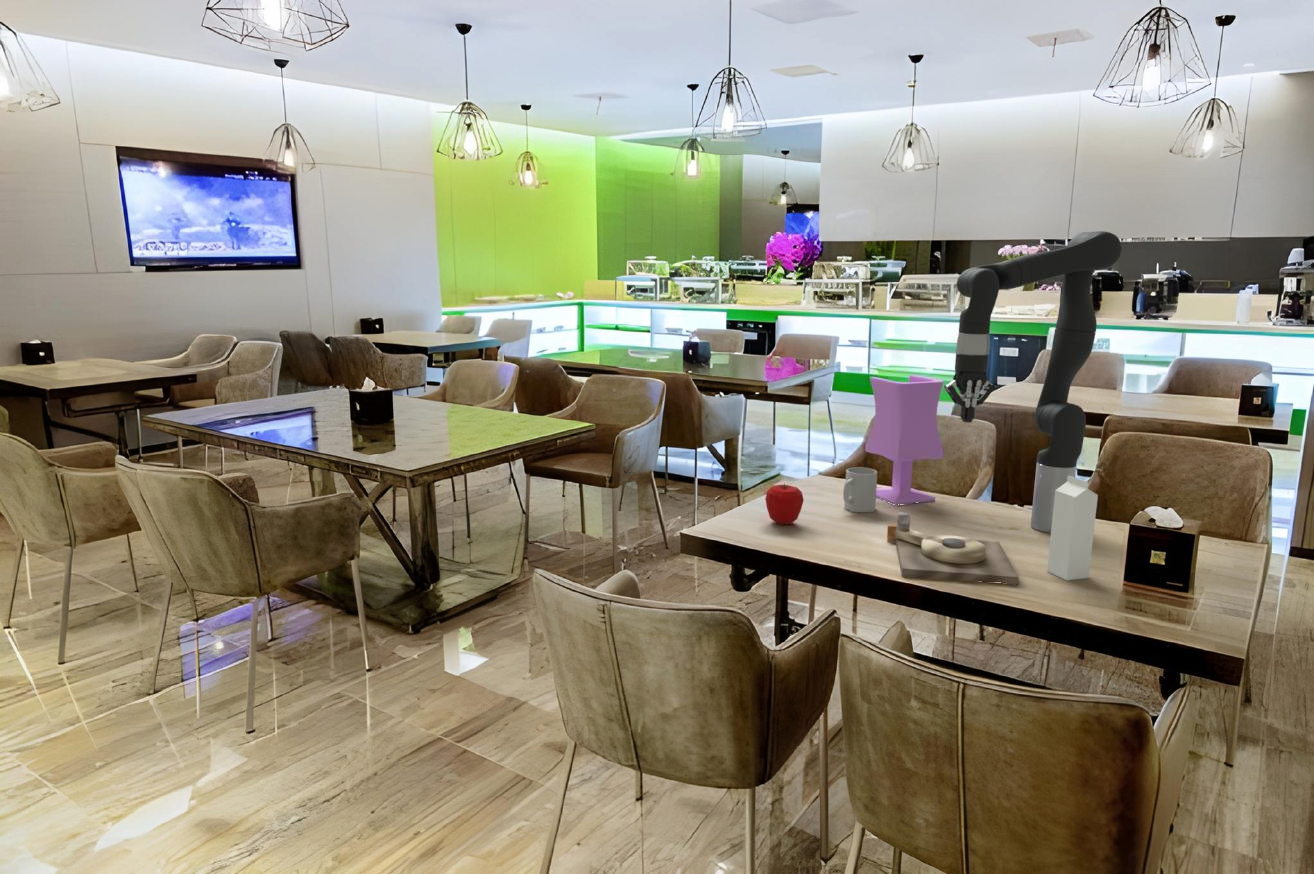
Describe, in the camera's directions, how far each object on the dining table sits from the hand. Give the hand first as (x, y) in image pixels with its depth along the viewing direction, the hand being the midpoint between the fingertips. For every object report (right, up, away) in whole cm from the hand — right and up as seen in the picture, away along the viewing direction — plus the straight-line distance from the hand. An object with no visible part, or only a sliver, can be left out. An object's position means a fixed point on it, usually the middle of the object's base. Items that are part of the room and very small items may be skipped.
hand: (966, 421), depth 210 cm
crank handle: (-11, -30, -11) cm, 34 cm away
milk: (+14, -34, -22) cm, 43 cm away
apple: (-43, -27, +14) cm, 53 cm away
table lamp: (-5, -22, +39) cm, 45 cm away
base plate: (-9, -32, -13) cm, 36 cm away
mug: (-21, -24, +26) cm, 42 cm away
